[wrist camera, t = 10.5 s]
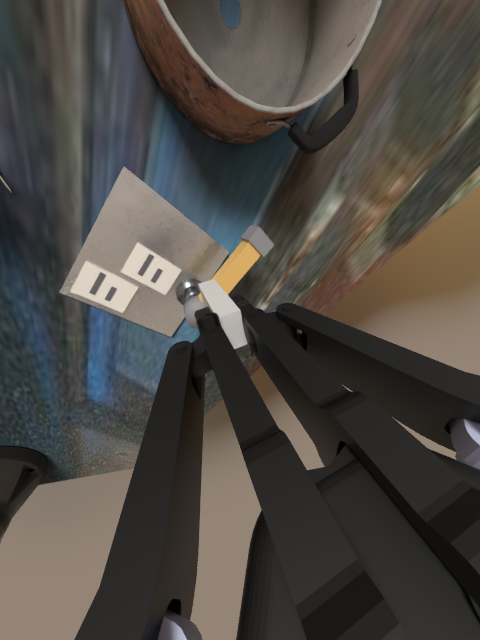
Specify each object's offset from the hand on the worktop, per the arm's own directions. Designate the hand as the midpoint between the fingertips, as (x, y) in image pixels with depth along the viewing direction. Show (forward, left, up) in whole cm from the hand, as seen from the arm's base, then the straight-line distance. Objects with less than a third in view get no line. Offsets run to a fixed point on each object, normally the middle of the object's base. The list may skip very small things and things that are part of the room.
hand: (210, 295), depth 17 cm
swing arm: (+1, -4, -10) cm, 11 cm away
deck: (-5, +3, -17) cm, 18 cm away
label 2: (-5, +3, -17) cm, 18 cm away
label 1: (-11, +7, -17) cm, 22 cm away
